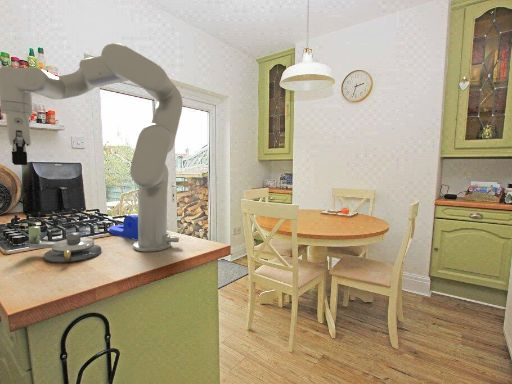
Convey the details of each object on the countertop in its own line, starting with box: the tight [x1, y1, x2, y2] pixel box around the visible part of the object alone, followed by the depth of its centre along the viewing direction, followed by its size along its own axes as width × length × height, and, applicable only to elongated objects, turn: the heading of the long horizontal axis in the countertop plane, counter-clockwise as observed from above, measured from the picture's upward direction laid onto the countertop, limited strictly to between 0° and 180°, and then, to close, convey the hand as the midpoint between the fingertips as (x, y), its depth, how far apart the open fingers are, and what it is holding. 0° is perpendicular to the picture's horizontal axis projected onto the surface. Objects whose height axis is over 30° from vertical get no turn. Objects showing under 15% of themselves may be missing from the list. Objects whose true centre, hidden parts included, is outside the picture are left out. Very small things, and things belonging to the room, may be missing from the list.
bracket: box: [108, 214, 138, 241], centre depth 110 cm, size 18×8×9 cm, turn 65°
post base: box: [43, 244, 102, 264], centre depth 85 cm, size 15×16×4 cm
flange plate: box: [28, 225, 95, 253], centre depth 84 cm, size 18×11×6 cm, turn 98°
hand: (19, 164), depth 87 cm, fingers open, 9 cm apart
